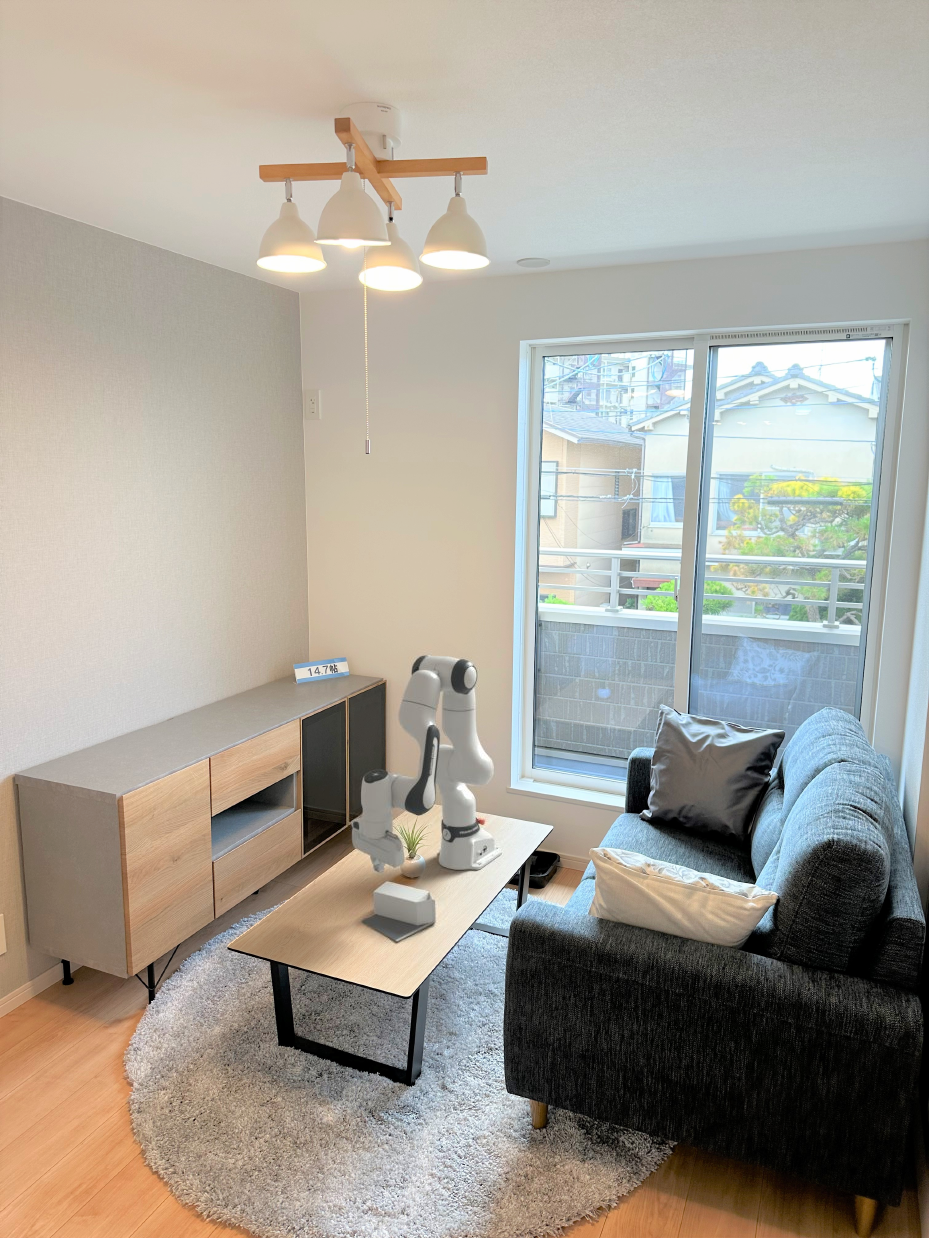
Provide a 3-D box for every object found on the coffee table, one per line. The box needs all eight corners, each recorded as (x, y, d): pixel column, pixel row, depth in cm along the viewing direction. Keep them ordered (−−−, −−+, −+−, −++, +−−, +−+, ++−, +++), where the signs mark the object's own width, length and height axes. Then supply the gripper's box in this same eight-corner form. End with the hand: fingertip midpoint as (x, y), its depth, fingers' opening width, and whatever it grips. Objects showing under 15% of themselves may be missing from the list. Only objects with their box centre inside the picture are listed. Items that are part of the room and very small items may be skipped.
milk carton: (373, 913, 243) (429, 928, 234) (372, 891, 242) (428, 905, 233) (387, 902, 249) (441, 917, 240) (386, 880, 248) (441, 894, 239)
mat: (398, 904, 249) (398, 902, 249) (434, 923, 238) (434, 921, 238) (361, 921, 239) (361, 920, 239) (397, 942, 228) (397, 941, 228)
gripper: (409, 833, 235) (410, 879, 237) (364, 813, 249) (366, 856, 251) (392, 840, 230) (393, 886, 233) (347, 819, 245) (349, 863, 247)
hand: (378, 871), depth 242 cm, fingers closed
